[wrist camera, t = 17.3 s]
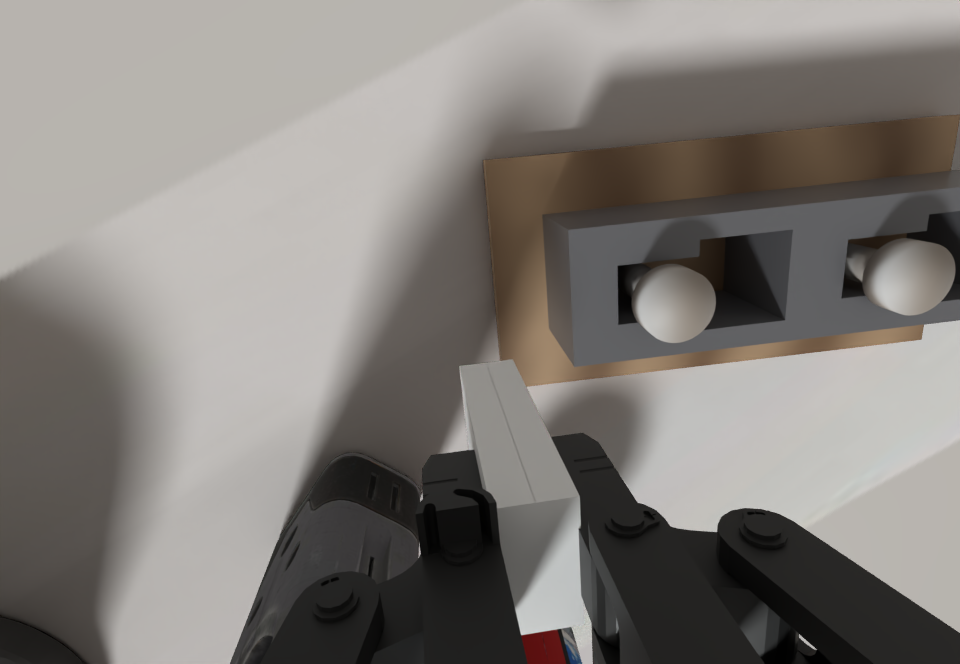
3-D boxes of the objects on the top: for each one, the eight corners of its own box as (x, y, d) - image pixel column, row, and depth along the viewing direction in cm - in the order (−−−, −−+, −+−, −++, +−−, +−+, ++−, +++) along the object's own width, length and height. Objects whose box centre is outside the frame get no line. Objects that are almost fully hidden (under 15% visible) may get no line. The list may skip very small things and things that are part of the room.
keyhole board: (501, 380, 32) (526, 459, 24) (483, 160, 28) (504, 165, 20) (904, 333, 33) (1058, 392, 25) (939, 115, 29) (1134, 103, 21)
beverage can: (534, 629, 38) (580, 836, 26) (438, 611, 36) (441, 821, 25) (569, 548, 36) (634, 734, 24) (468, 527, 35) (487, 712, 23)
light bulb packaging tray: (548, 328, 30) (577, 372, 24) (542, 214, 28) (571, 231, 22) (941, 282, 31) (1060, 313, 25) (961, 169, 29) (1094, 174, 23)
